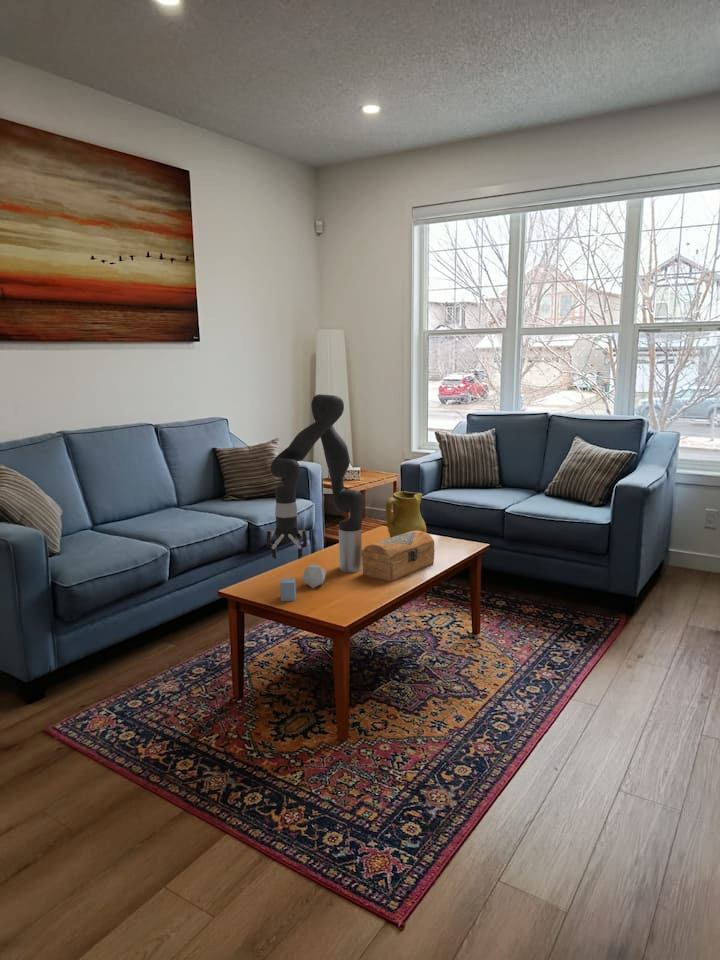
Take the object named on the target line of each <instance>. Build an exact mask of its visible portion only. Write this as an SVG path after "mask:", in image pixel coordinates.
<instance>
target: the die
mask: <svg viewBox="0 0 720 960" xmlns="http://www.w3.org/2000/svg"><path fill="white" fill-rule="evenodd" d="M326 574H327V570H325V569H324V568H323V567H321V566H320V565H319V564H317V563H316V562H315V563H311V564H310V565H307V566H306V567H305V569H304V571H303V576H302V578H301V580H302V581H303V582H304V583H305V584H307V586H309V587H311V588H312V589H315V588H317V587H319V586H321V585H323V583H324V582H325V578H326Z"/></svg>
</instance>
